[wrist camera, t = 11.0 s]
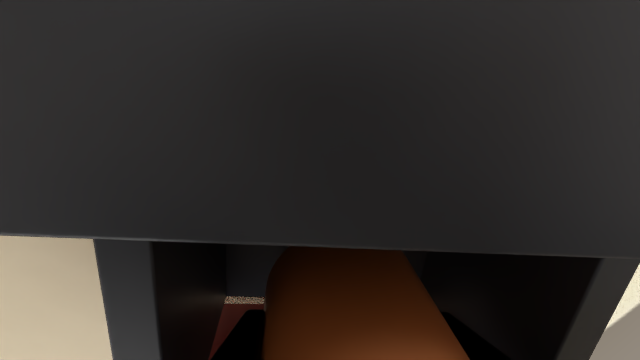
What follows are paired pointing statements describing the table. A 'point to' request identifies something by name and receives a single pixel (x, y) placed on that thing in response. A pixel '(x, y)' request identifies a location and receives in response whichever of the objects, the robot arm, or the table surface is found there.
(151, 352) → the pod drawer
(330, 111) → the drawer cabinet
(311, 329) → the brown short cylinder
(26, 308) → the table surface
